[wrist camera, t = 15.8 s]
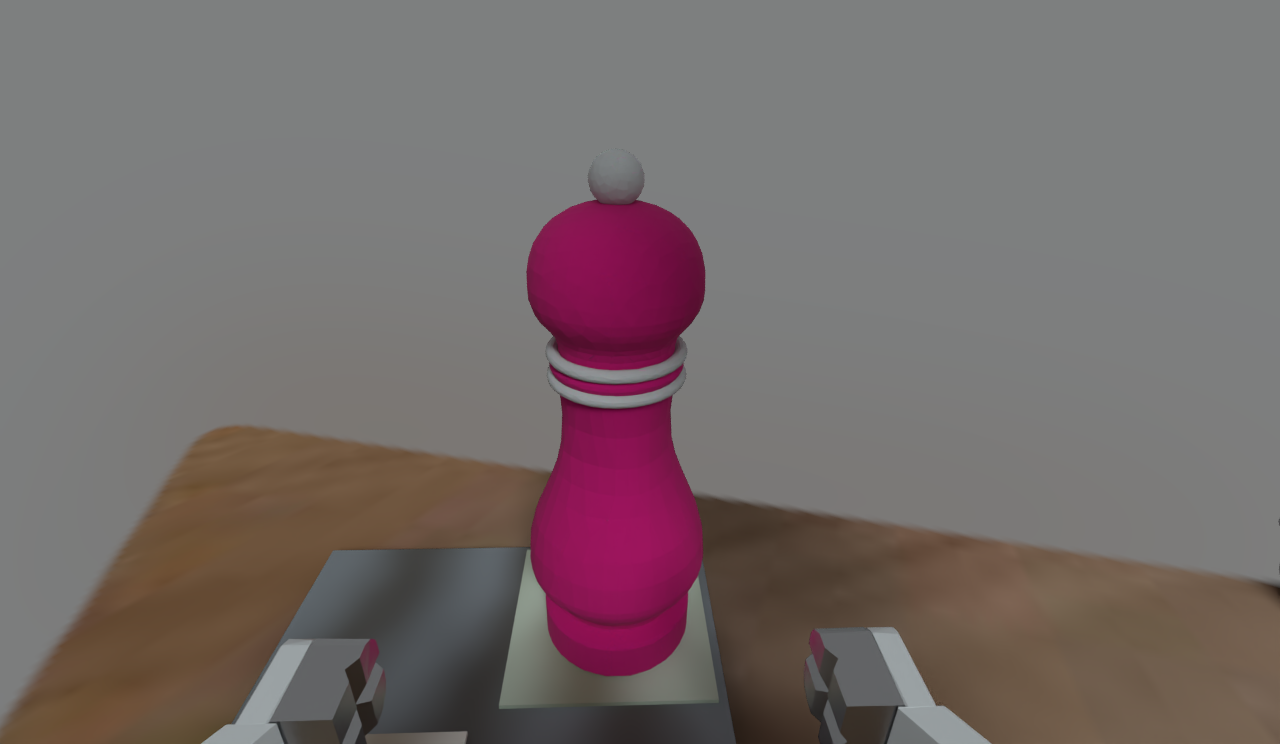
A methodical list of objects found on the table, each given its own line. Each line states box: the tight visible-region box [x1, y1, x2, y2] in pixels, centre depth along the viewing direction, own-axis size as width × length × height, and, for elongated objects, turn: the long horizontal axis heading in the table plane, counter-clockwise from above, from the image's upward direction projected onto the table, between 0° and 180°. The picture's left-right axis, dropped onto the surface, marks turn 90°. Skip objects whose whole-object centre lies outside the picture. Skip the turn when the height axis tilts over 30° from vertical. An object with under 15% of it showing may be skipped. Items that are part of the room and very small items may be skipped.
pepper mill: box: [527, 149, 705, 676], centre depth 23 cm, size 7×7×20 cm
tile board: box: [232, 547, 736, 744], centre depth 23 cm, size 19×19×1 cm
